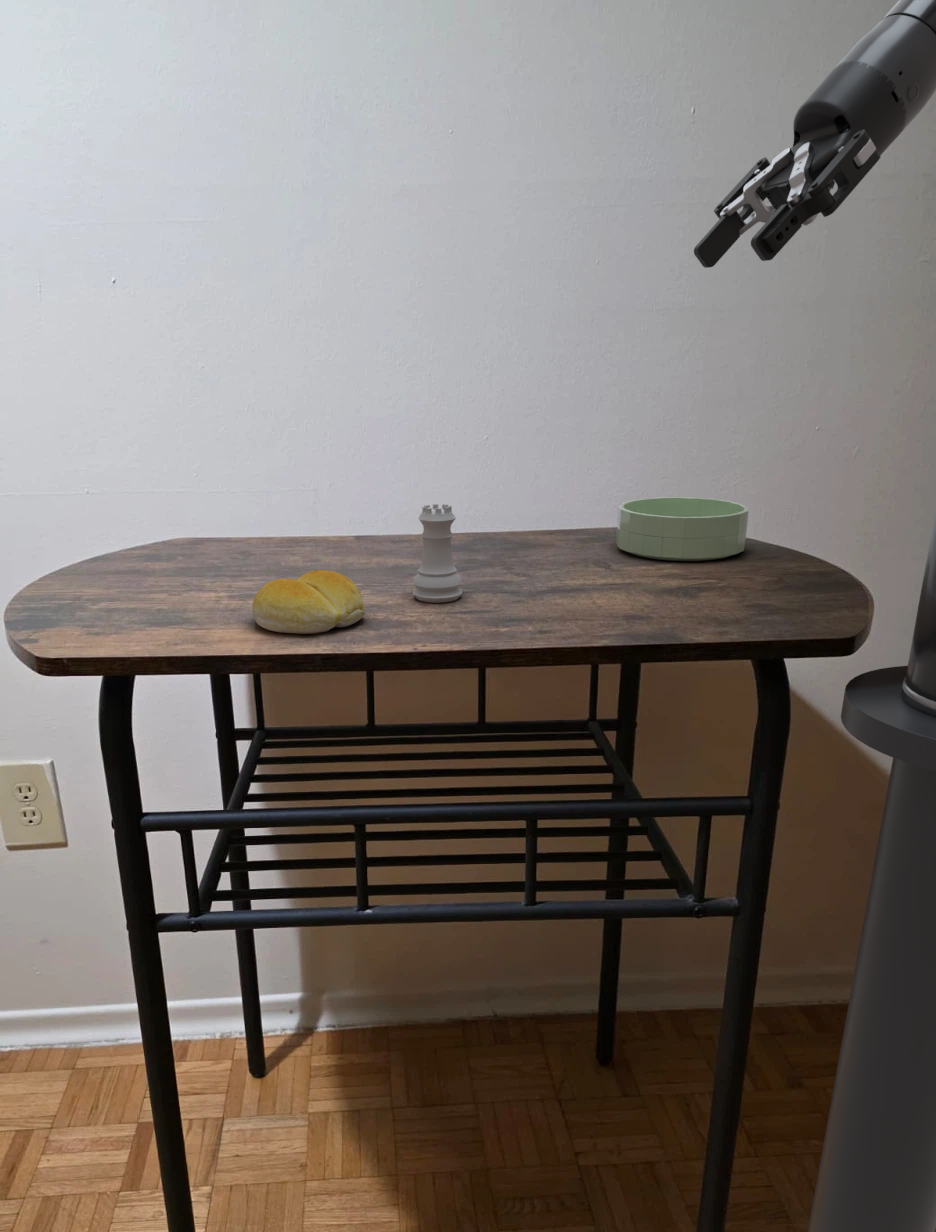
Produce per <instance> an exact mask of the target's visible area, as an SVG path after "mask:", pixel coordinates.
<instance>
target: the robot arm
mask: <svg viewBox="0 0 936 1232" xmlns="http://www.w3.org/2000/svg"><path fill="white" fill-rule="evenodd" d="M935 92H936V0H898V1H897V2H896V3H895V4H894V5H893V7H892V8H891V9H889V11H888V12H887V13H886V14H885V16H884V17H883V18H882V19H881V20H880V21H879V22H878V23H876V25H875V26H874V27H873V28H872V29H871V30H869V31H868V32H867V33H866V34H865V35H864V36H863V37H861V39H859V41H858V42H857V43H856V44H855V45H854V46H853V47H852V48H851V49H850V50H849V51H848V53H847V54H846V55H845V56H844V57H843V58H842V59H841V60H840V62H838V63H837V65H836V66H835V67H834V68H833V69H832V70H831V72H830V73H829V74H828V75H827V76H826V77H825V79H824V80H823V81H821V83H820V84H819V85H818V86H817V87H816V89H814V91H813V92H812V93H811V94H810V95H809V96H808V98H806V100H805V101H804V102H803V103H802V105H801V106H800V107H799V108H798V109H797V111H796V113H795V115H794V118H793V128H792V129H793V144H792V146H791V148H790V147H787V148H785V149H784V150H782V151H781V152H779V154H777V155H776V156H775V157H773V158H772V161H771V162H770V161H769V160H768V158H767V157H766V156H764V157H762V158H761V159H759V160H757V162H756V163H755V164H754V165H753V166H752V168H750V170H749V171H747V173H746V174H745V175H744V176H743V178H742V179H741V180H740V181H739V182H738V183H737V184H736V185H735V186H734V187H733V188H732V189H731V190H730V192H729V193H728V194H727V195H726V196H725V197H724V198H723V199H722V200H721V201H720V202H719V203H718V204H717V205H716V207H715V208H714V210H713V213H714V214H715V215H716V217H717V218H718V221H716V223H715V224H714V225H713V226H712V227H711V228H710V230H709V231H708V232H707V233H706V234H705V235H704V236H703V237H702V238H701V240H700V241H699V242H698V243H697V244H696V245H695V246H694V248H693V254H694V256H695V257H696V259H697V260H698V261H699V263H700V264H701V266H702V267H703V268H705V269H706V268H713V267H714V266H715V265H716V264H717V263H718V262H719V261H720V260H721V259H722V257H723V256H724V255H725V254H726V253H727V252H728V251H729V250H730V249H731V247H732V246H733V245H734V244H735V243H736V242H737V241H738V240H739V239H740V237H741V236H743V235H744V233H746V232H747V231H748V230H750V229H752V227H754V226H755V225H757V224H758V223H762V224H763V225H762V226H761V227H760V228H759V230H758V231H757V232H756V233H755V234H754V235H753V237H751V240H750V246H751V248H752V249H753V251H754V253H755V254H756V255H757V257H758V258H759V260H760V261H763V262H767V261H771V260H773V259H774V258H775V257H776V256H777V255H778V254H779V252H781V250H782V249H783V248H784V247H785V246H786V245H787V244H788V243H789V242H790V240H791V239H792V238H793V237H794V236H795V235H796V234H797V232H799V230H800V229H801V228H802V227H803V226H808V225H810V224H812V223H813V222H814V221H815V220H816V218H817V217H818V215H819V214H820V213H821V215H822V216H823V217H824V218H826V217H827V218H828V216H831V215H832V214H834V212H836V210H838V208H839V207H840V206H841V205H842V204H843V203H844V201H845V200H846V199H847V198H848V196H850V194H851V193H852V192H853V191H854V190H855V188H856V187H857V186H858V185H859V184H860V183H861V182H862V180H863V179H864V178H865V177H866V175H867V174H869V172H870V171H871V170H872V169H873V167H875V165H877V163H878V162H879V160H881V156H882V155H883V154H884V152H885V151H886V150H887V149H888V148H889V147H890V146H891V145H892V143H894V142H895V140H896V139H898V137H899V136H900V135H901V134H902V132H904V130H905V129H906V128H907V127H908V126H909V125H910V124H911V122H912V121H913V120H914V119H915V118H916V117H917V116H918V115H919V114H920V113H921V111H922V110H923V109H924V108H925V107H926V105H927V104H928V102H929V101H930V100H931V98H932V97H933V95H934V94H935ZM835 185H837V189H836V191H835V192H834V193H833V195H832V193H831V191H832V190H833V189H834V188H835ZM766 199H767V200H768V201H769V203H770V205H766V204H765V202H764V201H765V200H766ZM741 208H742V209H741ZM740 209H741V210H740ZM739 210H740V212H738V211H739ZM934 512H935V513H934V517H933V523H932V529H931V533H930V534H931V535H930V540H929V543H928V544H929V545H928V550H927V556H926V557H927V558H926V562H925V567H924V572H923V578H922V583H921V589H920V594H919V599H918V605H917V611H916V617H915V621H914V628H913V634H912V638H911V639H912V640H911V646H910V651H909V657H908V662H907V666H908V667H907V673H906V677H905V678H904V681H903V686H902V692H901V696H902V698H903V700H904V701H905V702H906V703H907V704H909V705H910V706H912V707H913V708H915V709H917V710H919V711H921V712H923V713H926V714H928V715H931V716H934V717H936V510H935V511H934Z"/></svg>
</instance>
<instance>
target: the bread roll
mask: <svg viewBox="0 0 936 1232" xmlns="http://www.w3.org/2000/svg"><path fill="white" fill-rule="evenodd" d="M360 591H361V590H359V587H358V586H357V585H356V584H355V582H353V580H351V579H350V578H349V577H348V576H346V575H345V574H342V573H339V572H337V571H334V570H326V569H315V570H310V571H308V572H306V573H304V574H302V575H300V576H299V577H298V578H297V579H295V578H276V579H273V580H271V581H268V582H267V583H265V584H264V585H263V586H262V587H260V588H259V590H258V591H257V592H256V594H255V596H254V599H253V601H252V616H253V618H254V621H255V622H256V625H258V626H260V628H263V629H265V630H267V631H270V632H276V633H281V634H283V633H284V634H285V633H286V634H298V635H311V634H312V635H313V634H319V633H325V632H328V631H330V630H331V629H334V628H346V627H349V626H352V625H353V624H355V623H357V622H359V621H360V620H362V619H363V617H364V615H365V613H366V606H365V603H364V599H363V596H362V593H361V592H360Z"/></svg>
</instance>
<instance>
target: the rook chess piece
mask: <svg viewBox="0 0 936 1232" xmlns="http://www.w3.org/2000/svg"><path fill="white" fill-rule="evenodd" d="M421 507H422V509H421V511H422V512H421V513H420V514H419V516H418V517H417V518H418V520H419V522H420V523H421V525H422V527H423V532H422V533H421V534H420V536H421V538H422V539H423V541H422V543H423V545H422V546H423V548H422V556H421V562H420V565H419V568H418V569H417V572H418V573H416V575H415V576H414V578H413V581H412V582H413V585H414V586H415V589H413V590H412V594H413V596H414V597H415V598H416V600H418V601H420V602H425V603H433V604H437V603H438V604H439V603H449V602H453V601H457V600H458V599H459V598H460V597H461V595H462V594H463V590H462V589H461V588H460V586H461V584H462V583H463V582H462V581H463V580H462V578H461V576H460V575H459V574H458V573H457V572H458V569H457V568H456V567H455V564H454V557H453V552H452V538H453V537H454V534H453V532H452V530H451V528H452V527H451V526H452V525H453V523H454V522H455V521H456V519H457V517H456V516H455V514H454V512H452V510H453V509H452V507H453V506H452V505H449V504H446V503H445V504H442V505H441V508H440V507H439V503H433V504H432V508H431V505H430V504H425V505H423V506H421Z"/></svg>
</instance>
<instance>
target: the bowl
mask: <svg viewBox="0 0 936 1232" xmlns="http://www.w3.org/2000/svg"><path fill="white" fill-rule="evenodd" d="M617 508H618V509H617V524H616V540H615V545H616V546H617V548H618V549H620V550H621V551H624V552H627V553H629V554H632V555H635V556H638V557H642V558H647V559H654V560H661V561H663V560H664V561H673V562H674V561H676V562H698V561H699V562H700V561H714V560H719V559H726V558H728V557H730V556H735V555H737V554H740V553H742V552H745V548H746V542H747V533H748V525H749V524H748V523H749V514H750V507H749V506H747V505H746V504H744V503H740V502H736V501H732V500H726V499H718V498H708V497H695V496H694V497H692V496H660V497H659V496H658V497H645V498H637V499H631V500H627V501H624V502H621V503H620V504H619V505H618V506H617Z"/></svg>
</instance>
